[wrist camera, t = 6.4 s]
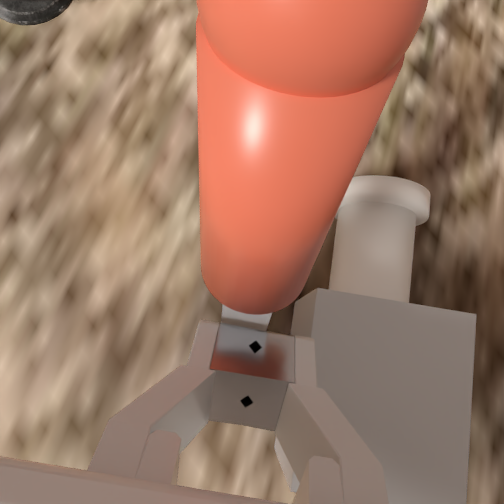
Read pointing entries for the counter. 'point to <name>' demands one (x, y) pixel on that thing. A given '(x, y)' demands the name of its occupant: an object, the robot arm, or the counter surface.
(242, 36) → the lever
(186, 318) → the counter surface
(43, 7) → the grey chess pawn
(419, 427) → the valve
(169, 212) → the counter surface
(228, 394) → the robot arm
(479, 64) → the counter surface
